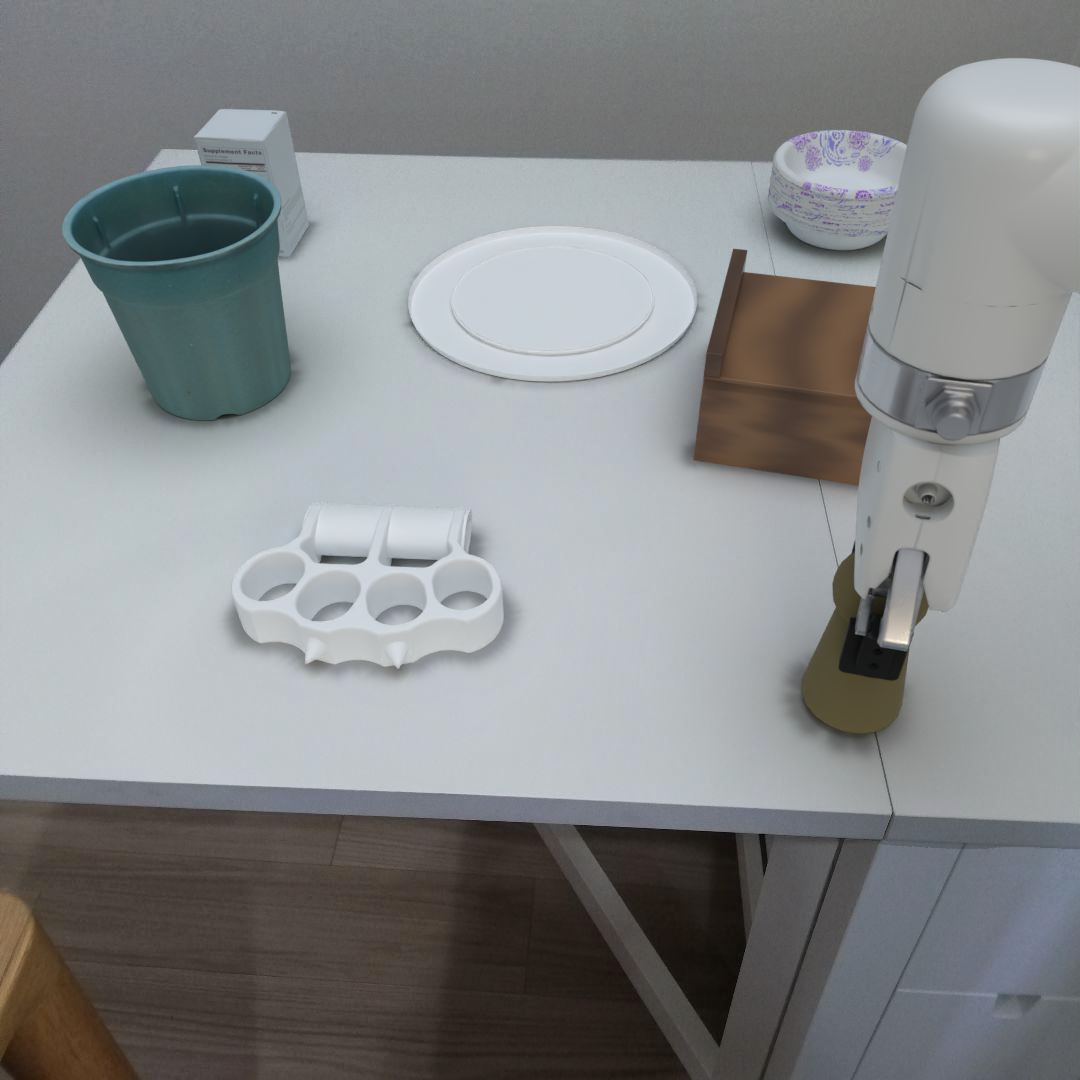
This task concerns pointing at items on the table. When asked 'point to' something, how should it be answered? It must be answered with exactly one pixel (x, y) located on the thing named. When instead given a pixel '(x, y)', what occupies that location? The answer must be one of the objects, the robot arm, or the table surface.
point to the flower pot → (191, 283)
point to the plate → (552, 303)
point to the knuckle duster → (372, 585)
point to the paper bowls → (836, 187)
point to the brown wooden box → (785, 376)
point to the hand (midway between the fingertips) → (869, 630)
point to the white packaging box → (259, 160)
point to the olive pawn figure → (843, 694)
